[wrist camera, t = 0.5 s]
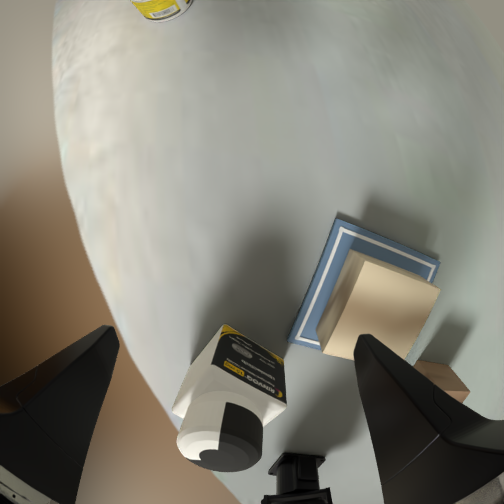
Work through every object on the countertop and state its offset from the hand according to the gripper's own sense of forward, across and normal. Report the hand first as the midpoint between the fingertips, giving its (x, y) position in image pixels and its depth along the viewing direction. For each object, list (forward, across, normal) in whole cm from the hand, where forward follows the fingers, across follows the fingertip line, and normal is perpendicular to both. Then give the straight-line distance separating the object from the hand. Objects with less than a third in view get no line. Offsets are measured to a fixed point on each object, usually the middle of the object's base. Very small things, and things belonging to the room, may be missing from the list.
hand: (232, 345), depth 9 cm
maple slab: (+13, -11, +7) cm, 18 cm away
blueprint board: (+13, -11, +7) cm, 19 cm away
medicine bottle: (+12, +1, +14) cm, 19 cm away
